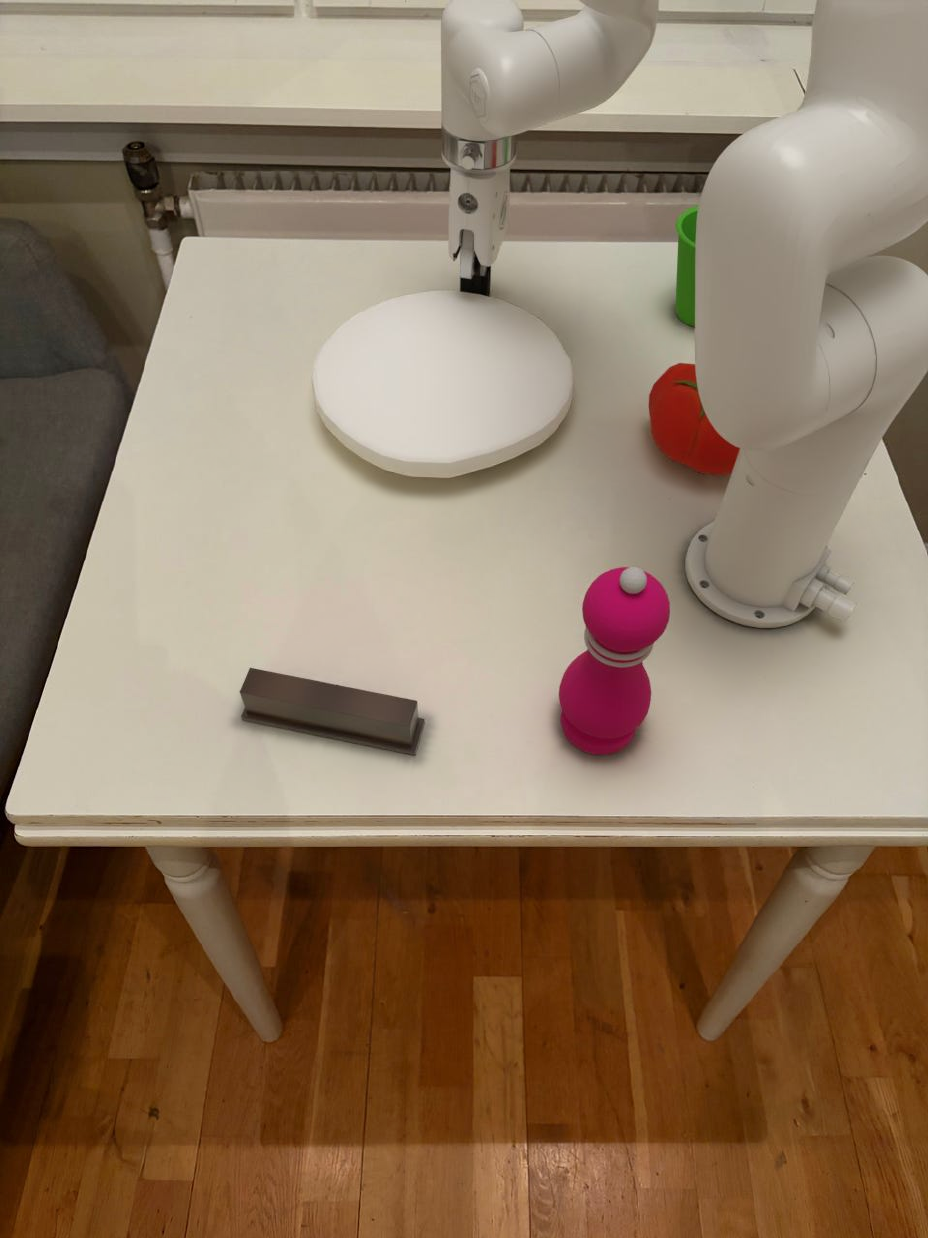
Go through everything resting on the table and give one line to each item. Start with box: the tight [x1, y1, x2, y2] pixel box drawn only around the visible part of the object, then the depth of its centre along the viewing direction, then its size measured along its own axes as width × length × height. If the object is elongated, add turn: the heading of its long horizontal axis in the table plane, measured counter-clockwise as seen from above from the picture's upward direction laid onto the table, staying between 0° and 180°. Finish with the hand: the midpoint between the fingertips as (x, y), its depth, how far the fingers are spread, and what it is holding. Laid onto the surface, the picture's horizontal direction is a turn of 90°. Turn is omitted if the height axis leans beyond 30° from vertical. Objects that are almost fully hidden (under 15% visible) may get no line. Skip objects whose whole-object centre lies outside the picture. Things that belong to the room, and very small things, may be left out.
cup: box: [674, 205, 699, 327], centre depth 106 cm, size 9×9×11 cm
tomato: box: [648, 362, 740, 476], centre depth 94 cm, size 13×12×8 cm
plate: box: [311, 289, 575, 479], centre depth 99 cm, size 28×6×27 cm
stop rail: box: [239, 667, 426, 756], centre depth 77 cm, size 15×3×4 cm, turn 77°
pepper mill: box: [558, 566, 671, 756], centre depth 70 cm, size 7×7×20 cm
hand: (474, 297), depth 109 cm, fingers closed
